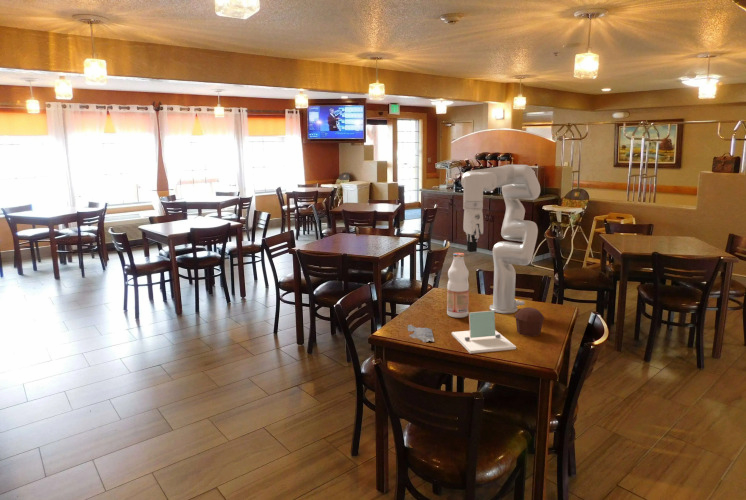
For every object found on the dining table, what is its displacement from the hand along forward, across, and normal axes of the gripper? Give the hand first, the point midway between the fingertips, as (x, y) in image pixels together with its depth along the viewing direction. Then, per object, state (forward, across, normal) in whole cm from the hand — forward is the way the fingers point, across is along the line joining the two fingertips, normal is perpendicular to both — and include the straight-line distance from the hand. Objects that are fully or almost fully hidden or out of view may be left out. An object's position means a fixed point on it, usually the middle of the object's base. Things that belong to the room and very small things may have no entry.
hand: (471, 251), depth 208 cm
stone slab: (+34, 0, +21) cm, 40 cm away
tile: (+26, -12, 0) cm, 29 cm away
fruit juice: (+33, +20, -2) cm, 39 cm away
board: (+33, -13, 0) cm, 36 cm away
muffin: (+33, -8, -22) cm, 41 cm away
